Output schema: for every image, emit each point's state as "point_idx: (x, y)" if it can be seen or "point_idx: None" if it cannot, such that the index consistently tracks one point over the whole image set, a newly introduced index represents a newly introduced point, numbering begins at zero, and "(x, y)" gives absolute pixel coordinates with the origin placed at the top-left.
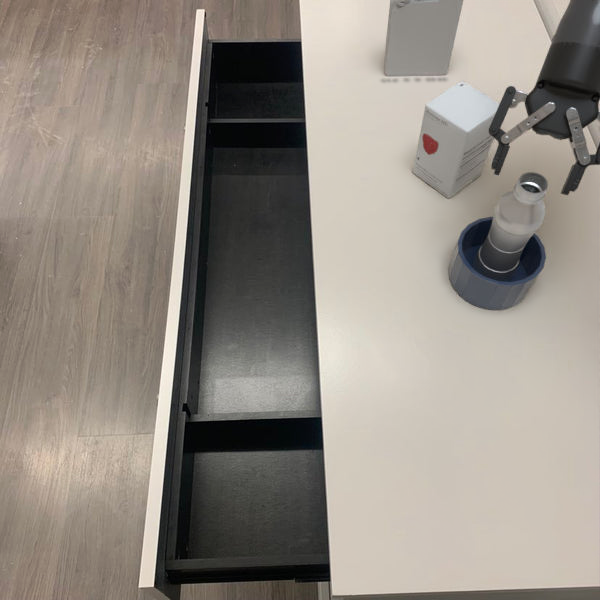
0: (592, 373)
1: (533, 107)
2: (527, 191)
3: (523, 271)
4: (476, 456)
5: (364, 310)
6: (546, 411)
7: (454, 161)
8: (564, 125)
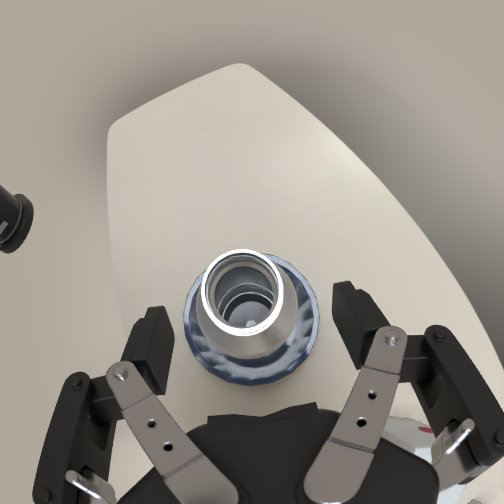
0: (113, 257)
1: (393, 459)
2: (244, 251)
3: (214, 350)
4: (191, 138)
5: (352, 203)
6: (145, 198)
7: (390, 429)
8: (223, 456)
